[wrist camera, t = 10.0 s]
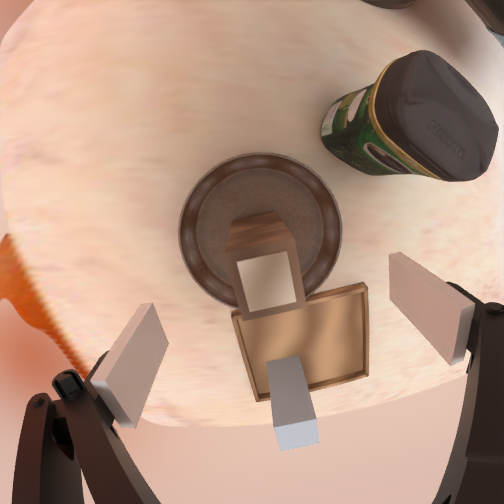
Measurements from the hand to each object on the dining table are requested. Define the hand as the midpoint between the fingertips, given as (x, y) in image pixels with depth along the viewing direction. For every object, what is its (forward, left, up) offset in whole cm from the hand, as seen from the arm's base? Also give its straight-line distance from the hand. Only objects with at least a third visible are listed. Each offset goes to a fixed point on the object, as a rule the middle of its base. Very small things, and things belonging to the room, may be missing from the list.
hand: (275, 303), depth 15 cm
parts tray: (-3, +17, -19) cm, 25 cm away
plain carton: (0, +20, -18) cm, 27 cm away
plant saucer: (0, 0, -19) cm, 19 cm away
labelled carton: (0, 0, -16) cm, 16 cm away
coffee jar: (-14, -9, -19) cm, 25 cm away
